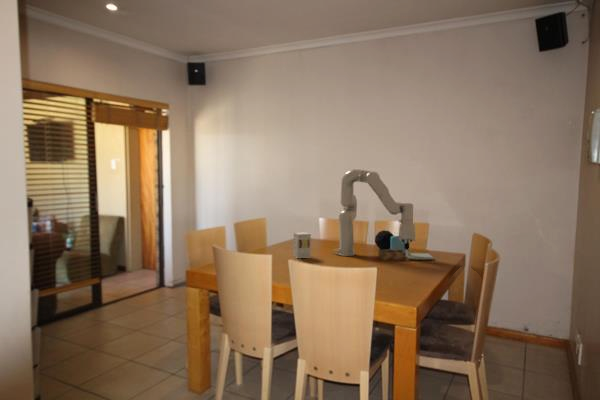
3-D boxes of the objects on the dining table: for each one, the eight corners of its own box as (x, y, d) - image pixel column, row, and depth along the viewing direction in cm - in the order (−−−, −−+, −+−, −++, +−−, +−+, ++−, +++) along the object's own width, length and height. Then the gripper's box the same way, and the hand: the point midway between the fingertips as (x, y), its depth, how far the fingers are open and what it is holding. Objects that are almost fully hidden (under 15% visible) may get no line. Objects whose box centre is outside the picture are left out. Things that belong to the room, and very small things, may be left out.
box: (381, 260, 275) (381, 252, 275) (378, 256, 286) (378, 249, 286) (405, 260, 275) (405, 252, 274) (402, 256, 286) (402, 249, 285)
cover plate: (408, 260, 274) (408, 253, 274) (404, 256, 287) (404, 249, 286) (433, 260, 274) (433, 253, 273) (427, 256, 286) (428, 249, 286)
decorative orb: (368, 241, 318) (375, 226, 309) (384, 239, 324) (392, 225, 315) (377, 255, 308) (384, 240, 299) (393, 253, 314) (401, 239, 305)
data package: (406, 252, 301) (406, 235, 301) (408, 253, 297) (408, 236, 296) (390, 252, 301) (390, 235, 300) (391, 253, 296) (392, 237, 295)
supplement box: (297, 259, 280) (297, 234, 278) (293, 256, 288) (293, 232, 287) (311, 258, 283) (310, 233, 281) (306, 255, 291) (306, 231, 290)
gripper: (396, 222, 275) (396, 250, 276) (419, 222, 274) (419, 250, 276) (394, 221, 282) (394, 248, 284) (417, 221, 282) (416, 248, 283)
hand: (406, 249), depth 280 cm, fingers closed
